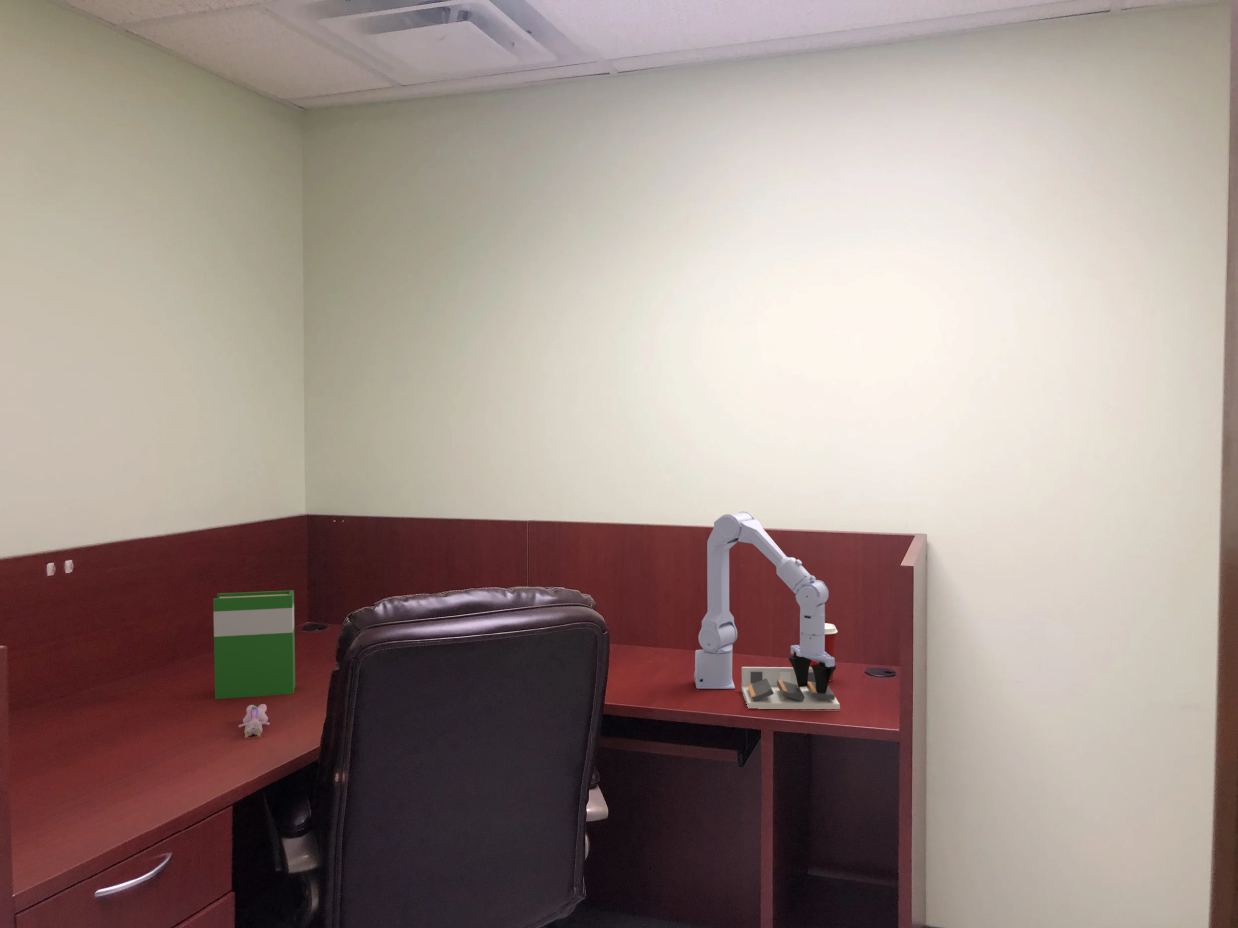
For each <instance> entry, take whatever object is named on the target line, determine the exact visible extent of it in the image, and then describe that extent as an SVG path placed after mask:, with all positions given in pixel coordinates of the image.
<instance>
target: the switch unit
mask: <svg viewBox="0 0 1238 928" xmlns="http://www.w3.org/2000/svg"><path fill="white" fill-rule="evenodd" d="M766 678H767V680H768V682H769V684H770V686H771V688H772V691H773V693H774V694H773V695H770V696H768V697H765V698H763V699H760V700H758V701H755V702H754V701H753V699H752V697H751V694H750V691H749V689H748V686H749V685H751V684H754V683H756V682H759V681H761V680H764V679H766ZM777 680H781V681H785V682H788V683H792V684H796V685H798V684H797V679H796V675H795V672H794V669H793V667H790V666H788V667H787V666H782V667H781V666H779V667H778V666H770V667H769V666H741V693H743V694H742V696H743V699H744V701H746V702H745V704H747V705H746V707H748V708H758V709H840V710H841V704H840V702H839V701H838V699H837V697H835V699H834V700H829V699H822V698H814V697H812V695H811V694H810V692H809V690H808V688H807V687H806V686H805V687H799V688H800V689H801V691H802V693H803V695H804V700H803V701H801V700H797V699H793V698H790V697H786V696H782V694H781V692H780V690H779V688H778V686H777V684H776V683H777ZM808 682H815V676H814V672H813V669H812V668H810V667H809V672H808ZM748 708H747V709H748Z"/></svg>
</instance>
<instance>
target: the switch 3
mask: <svg viewBox="0 0 1238 928" xmlns="http://www.w3.org/2000/svg"><path fill="white" fill-rule="evenodd" d="M806 687H807V688H808V690H809V692H810V694H811V695H812V697H814V698H822V699H829V700H834V699H835V698H836V696H835V693H834V692H833V690H832V689H831V687H830V686H829V685H828V687H827V691H826V693H817V692H816V682H808V683H807V686H806Z"/></svg>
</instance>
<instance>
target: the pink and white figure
mask: <svg viewBox="0 0 1238 928" xmlns="http://www.w3.org/2000/svg"><path fill="white" fill-rule="evenodd" d="M267 708H268V707H267V705H266V704H265V703H263V704H262V703H261V704H259V705H258V706H256V705H254V704H250V705H247V707H246V709H245V710H246V714H245V716H244V717H243V719H242V723H241V724H238V728H242V727H244V739H247V738H248V739H249V738H250V737H251V736H252V735H255V737H256V738H257V737H262V733H263V725H267V726H270V724H271V723H270V722H268V720H269V717H268V716H267V714H266V712H267V711H268V710H267ZM256 735H257V736H256ZM248 736H249V737H248Z"/></svg>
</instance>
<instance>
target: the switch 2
mask: <svg viewBox="0 0 1238 928" xmlns="http://www.w3.org/2000/svg"><path fill="white" fill-rule="evenodd" d="M776 684H777V686H778V688H779V690H780V692H781V694H782V696H786V697H790V698H793V699H797V700H801V701H803V700H804V695H803V693H802V691H801V689H800V688H799V687H798V685H796V684H792V683H788V682H785V681H781V680H777V683H776Z"/></svg>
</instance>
